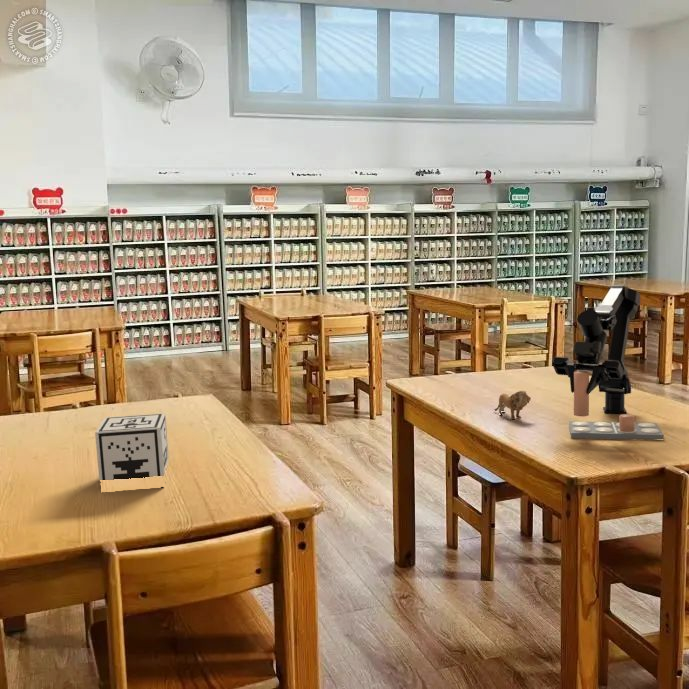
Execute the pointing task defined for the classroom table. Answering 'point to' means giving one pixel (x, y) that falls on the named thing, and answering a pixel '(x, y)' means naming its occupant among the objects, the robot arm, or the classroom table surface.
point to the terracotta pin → (581, 393)
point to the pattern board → (615, 429)
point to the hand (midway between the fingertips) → (579, 392)
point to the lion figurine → (513, 402)
